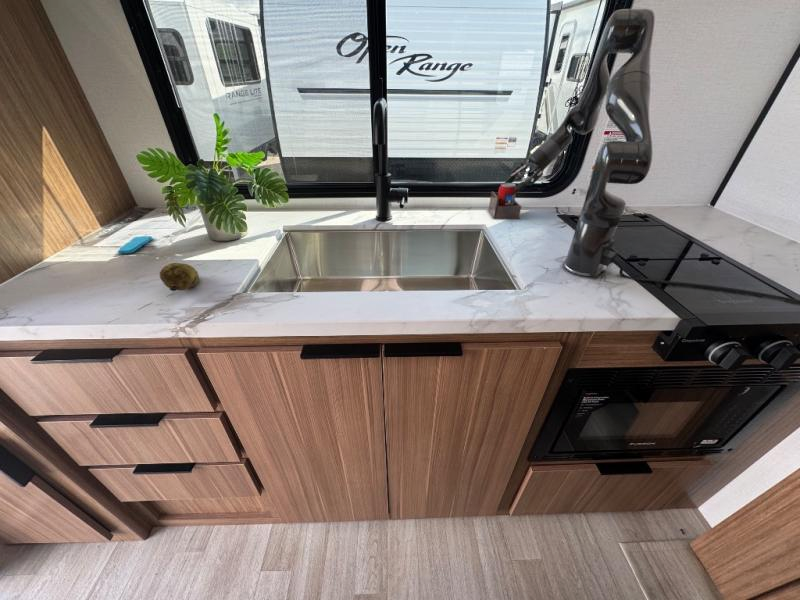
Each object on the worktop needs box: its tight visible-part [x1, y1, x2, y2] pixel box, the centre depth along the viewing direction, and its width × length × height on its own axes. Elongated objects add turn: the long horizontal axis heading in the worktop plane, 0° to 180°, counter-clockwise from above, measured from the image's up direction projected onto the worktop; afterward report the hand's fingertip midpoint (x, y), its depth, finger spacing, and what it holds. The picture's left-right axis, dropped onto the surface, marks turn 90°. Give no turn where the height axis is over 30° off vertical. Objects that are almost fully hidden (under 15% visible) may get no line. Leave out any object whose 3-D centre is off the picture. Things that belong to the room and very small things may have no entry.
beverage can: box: [497, 182, 517, 206], centre depth 128 cm, size 7×7×12 cm
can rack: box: [488, 191, 522, 220], centre depth 129 cm, size 10×10×8 cm
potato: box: [159, 262, 200, 292], centre depth 82 cm, size 8×13×8 cm, turn 6°
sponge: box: [117, 235, 153, 255], centre depth 105 cm, size 2×12×6 cm
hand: (510, 188), depth 126 cm, fingers open, 8 cm apart
